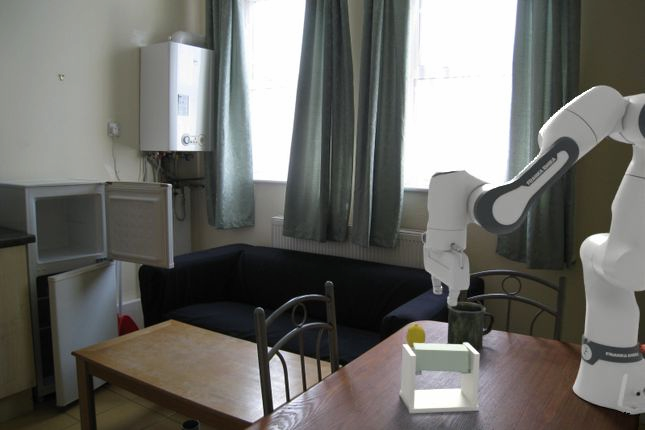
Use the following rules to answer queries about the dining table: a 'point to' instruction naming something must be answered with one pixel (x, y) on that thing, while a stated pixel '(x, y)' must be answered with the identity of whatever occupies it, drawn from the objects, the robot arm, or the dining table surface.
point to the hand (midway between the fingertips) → (444, 299)
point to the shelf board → (441, 357)
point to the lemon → (415, 335)
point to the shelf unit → (439, 397)
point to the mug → (467, 324)
